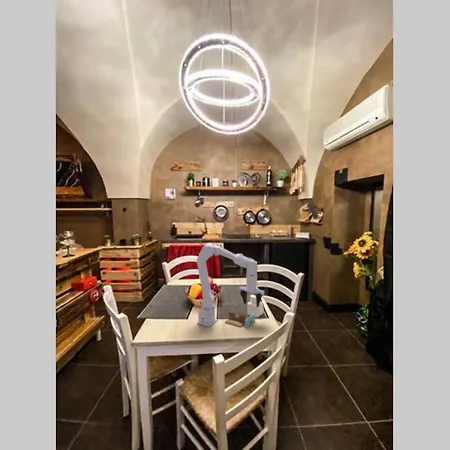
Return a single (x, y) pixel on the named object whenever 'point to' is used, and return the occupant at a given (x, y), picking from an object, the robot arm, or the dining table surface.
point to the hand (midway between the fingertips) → (251, 305)
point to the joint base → (236, 319)
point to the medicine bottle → (254, 306)
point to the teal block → (249, 320)
